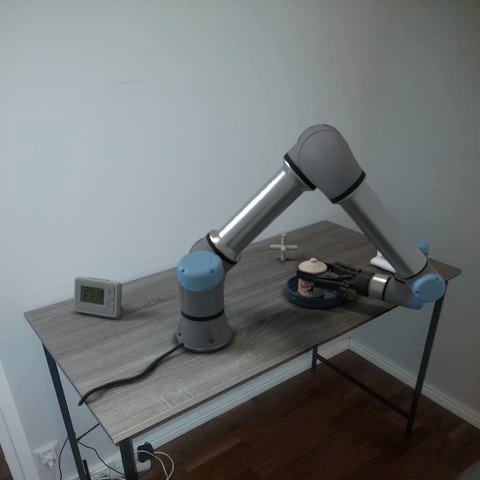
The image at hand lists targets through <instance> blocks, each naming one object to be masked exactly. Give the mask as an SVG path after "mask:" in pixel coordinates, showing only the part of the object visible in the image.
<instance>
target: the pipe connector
mask: <svg viewBox="0 0 480 480" xmlns="http://www.w3.org/2000/svg"><path fill="white" fill-rule="evenodd" d="M287 236H288V235H287V233H282V234H281V240H280V241H281V242H280V243H281V244H270V245H269V250H271V251H273V250H277V251H280V261H283V262H285V261H286V258H287V251H298V244H287Z"/></svg>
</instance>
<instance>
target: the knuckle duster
mask: <svg viewBox="0 0 480 480" xmlns="http://www.w3.org/2000/svg"><path fill="white" fill-rule="evenodd" d="M370 264H371V265H373V266H376V267H378V268H381V269H383V270H385V271H388V272H390V273H393V274H395V270H394V269H393V267H392V266H391V265H390V264H389V263H388V262H387V260H386V259H385V258H384V257H383V256H382V255H381V253H380V252H379V251H378V250H377V254H376V256H375V257H373V258H372V259H370Z"/></svg>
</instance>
